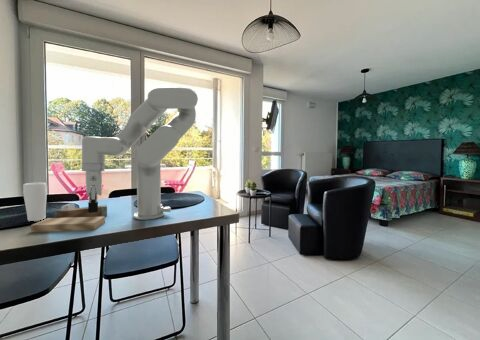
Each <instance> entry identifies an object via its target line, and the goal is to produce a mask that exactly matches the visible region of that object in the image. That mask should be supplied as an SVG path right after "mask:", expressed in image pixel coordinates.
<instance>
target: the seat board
mask: <svg viewBox="0 0 480 340" xmlns="http://www.w3.org/2000/svg"><path fill="white" fill-rule="evenodd" d="M105 223H106V216H100V217H71V218H55V217H47V218H45V219H44V220H41V221H36V223H32V224H31V225H30V232H31V233H47V232H49V233H50V232H71V231H72V232H74V231H75V232H76V231H77V232H78V231H95V230H97V229H98V228H100V227H101V226H103V225H104V224H105Z"/></svg>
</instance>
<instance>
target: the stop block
mask: <svg viewBox="0 0 480 340" xmlns="http://www.w3.org/2000/svg"><path fill="white" fill-rule="evenodd" d="M74 208H76V204H75V203H72V202H71V203H67V204H64V205H61V209H64V210H65V209H74Z"/></svg>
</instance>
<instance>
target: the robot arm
mask: <svg viewBox="0 0 480 340" xmlns="http://www.w3.org/2000/svg"><path fill="white" fill-rule="evenodd" d="M198 100H199V99H198V94H197V93H196V91H195V90H193V88H190V87H183V86H181V87H180V86H179V87H177V86H176V87H175V86H174V87H173V86H172V87H170V86H168V87H167V86H165V87H164V86H163V87H162V86H161V87H154V88H151V89H150V90H149V91H148V93H147V98H146V99H145V100H144V101H143V102H142V103H141V104H139V106H138V107H137V108H136V109H135V110H133V112H132V113H131V114H130V116H129V118H128V120H127V122H126V124H125V126H124V128H122V130H121V131H120V132H119V133H118V134H117V135H116V136H115V137H114V136H113V137H111V136H109V137H101V136H91V135H85V136H83V137H82V140H81V171H82V172H85V190H86V196H87V197H88V202H87V205H88V206H87V207H88V212H89V213H92V212H98V206H99V201H98V196H100V197H102V193H103V191H102V190H103V183H102V181H103V175H102V174H103V173H102V172H105V171H106V169H105V165H106V163H105V160H106V158H105V155H106V156H113V157H117V156H118V157H119V156H122V155H124V154H126V153H127V152H128V151H129V149H131V148H132V147H133V146H134V145H135V144H136V143H137V142H138V140H139V139H140V138H141V137H142V136H143V135H144V134H145V133H146V132H147V131H148V130H149V129H150V128H151V126H153V124H154V123H155V122H157V120H158V119H159V118H160V117H162V116H163V114H164V113H165V112H166V111H167V110H169V109H171V110H172V109H175V110H176V109H177V112H176V114H175V115H174V116H173V117H172V118H171V119H170V120H169V121H168V122H167V123H166V124H165V125H161V126H159V127H158V128H157V129H155V131H154V132H153V133H152V134H150V135H149V136H148V137H147V138H146V139H145V140H144V141H143V142H142V143H141V144H140V145H139V146H138V147H137V148H136V149H135V151H134V161H135V162H136V197H137V199H136V200H137V206H136V207H137V211H136V212H134V214H133V218H134V219H136V220H140V221H141V220H143V221H147V220H157V219H159V218H162V217H164V216H165V213H171V212H172V207H170V206H163V203H162V199H161V196H162V195H161V180H162V179H161V175H162V174H161V161H162V160H163V159H164V158H165V157H166V156H167V155H168V154H169V153H170V152H171V151H172V150H173V149H174V148H175V147H176V146H177V145H178V143H179V141H180V139H182V138H183V136H184V135H185V134H186V133H187V132H188V131H189V130H190V129H191V128H192V127H193V125H194V124H195V122H196V117H197V116H196V115H197V113H196V112H197V111H196V106H197V104H198Z"/></svg>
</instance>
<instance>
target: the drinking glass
mask: <svg viewBox="0 0 480 340" xmlns="http://www.w3.org/2000/svg"><path fill="white" fill-rule="evenodd" d="M47 187H48V186H47V182H45V181H44V182H43V181H42V182H40V181H38V182H28V183H23V185H22V192H23V199H24V204H25V211H26V216H27V221H28V222H30V221H34V222H40V220H41V221H42V220H43V219H47V218H46V217H47V213H46V212H47V211H46V209H47V197H48V196H47V194H48V192H47V191H48V188H47Z"/></svg>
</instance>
